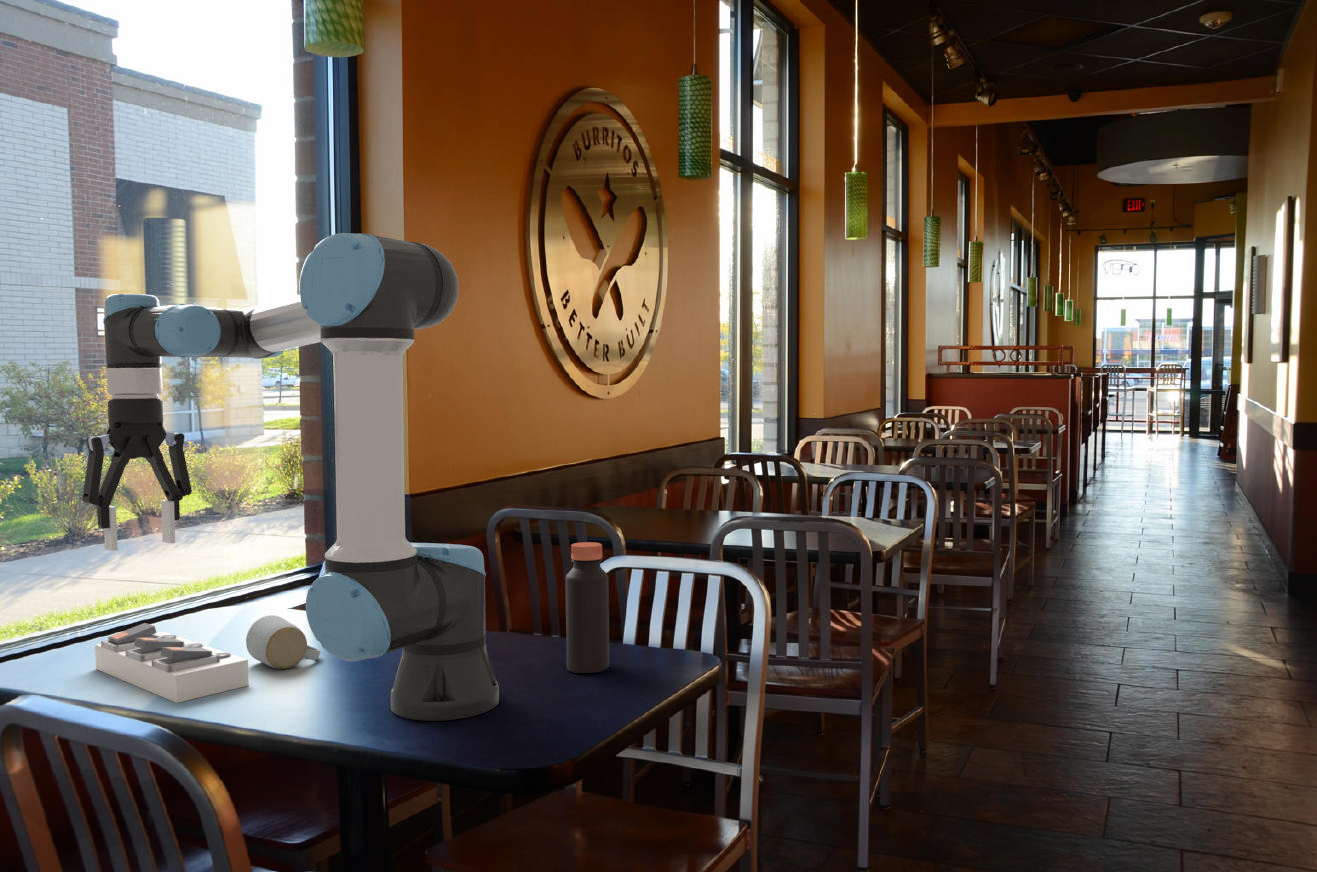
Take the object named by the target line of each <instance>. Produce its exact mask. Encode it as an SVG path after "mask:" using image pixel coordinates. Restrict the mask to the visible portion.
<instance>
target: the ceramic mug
mask: <svg viewBox="0 0 1317 872" xmlns="http://www.w3.org/2000/svg"><path fill="white" fill-rule="evenodd" d="M307 640H308V639H307V637H306V635H305V633H304V632H303V631H302V630H301V629H300V628H299V627H298V626H296V624H292V623H291V622H289V621H288V620H286V619H284V618H283V617H282V616H281V617H280V616H279V615H273V614H272V615H271V614H270V615H265V616H263V617H262V616H261V617H260V618H258V619H257V620H255V622H253V623H252V625H251V626H250V628H249V629H248V631H247V633H246V638H245V644H246V649H247V652H248V654H249V655H250V656H251V658H253V659H255V660H256V661H257V662H258V661H259V662H260V663H263V664H264V665H267V666H269V667H271V668H273V669H277V670H287V669H291V668H294V667H295V666H296V665H298V664H299V663H301V661H302V660H303V659H304V658H305V659H308V660H312V661H318V659H319V658H320V655H321V650H319V649H318V648H316V647H314V646H310V645H308V641H307Z"/></svg>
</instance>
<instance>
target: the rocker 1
mask: <svg viewBox="0 0 1317 872" xmlns="http://www.w3.org/2000/svg"><path fill="white" fill-rule="evenodd" d="M155 626H156V625H153V624H150V623H146V622H144V623H141V624H139V625H136V626H133V627H131V628H128V629H126V630H122V631H121V632H118V633H115V634H112V635H110V636H108V637H107V640H109V642H110V643H113V644H115V645H122V644H127V643H132V642H135V638H145V637H147V636H150V635H152V634H155V633H157V630H156V627H155Z"/></svg>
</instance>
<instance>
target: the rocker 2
mask: <svg viewBox="0 0 1317 872" xmlns="http://www.w3.org/2000/svg"><path fill="white" fill-rule="evenodd" d="M211 655H212V651H210V650H207V649H204V648H201V647H162V651H161V656H164V657H167V658H170V659H201V658H205V657H210V656H211Z"/></svg>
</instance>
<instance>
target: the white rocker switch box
mask: <svg viewBox="0 0 1317 872" xmlns="http://www.w3.org/2000/svg"><path fill="white" fill-rule="evenodd" d="M145 638H174V639H177V640H180V641H183V642H184V645H183V647H201V648H204V649H207V650H210V651H212V655H211V656H210V657H205V658H201V659H170V658H167V657H164V656H161V651H162V649H142V648H139V647H137V646H134V644H135V642H132V643H127V644H122V645H115V644H113V643H110V642H109V640H108V639H105V640H101V641H100V643H96V644H94V647H95V648H94V650H95V651H94V652H95V655H94V656H95V670H98V671H100V672H102V673H105V674H107V675H109V676H112V677H114V678H116V679H119V680H121V681H124V682H126V683H128V684H130V685H133V686H135V687H138V688H141V689H142V690H145V691H147V692H150V693H152V694H155V695H156V696H158V697H161V698H164V699H166V700H169V701H172V702H174V703H176V704H177V703H181V702H185V701H190V700H194V699H197V698H203V697H207V696H211V695H214V694H218V693H223V692H227V691H232V690H235V689H239V688H244V687H247V686H249V683H250V682H249V659H248V658H244V657H242V656H239V655H235V654H232V653H230V652H227V651H223V650H220V649H217V648H214V647H212V646H209V645H205V644H202V643H199V642H196V641H193V640H190V639H187V638H184V637H181V636H178V635H176V634H172V633H168V632H166V631H161V632H156V633H155V634H152V635H150V636H147V637H145Z"/></svg>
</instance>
